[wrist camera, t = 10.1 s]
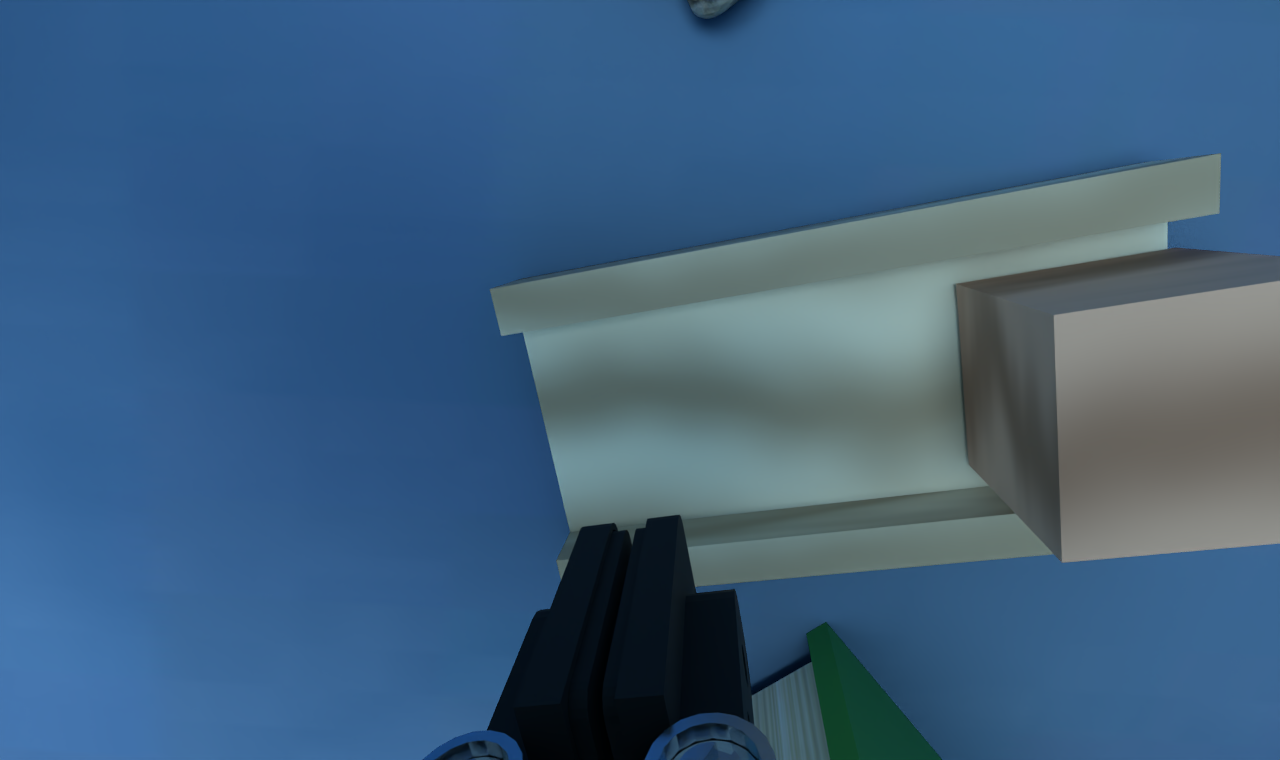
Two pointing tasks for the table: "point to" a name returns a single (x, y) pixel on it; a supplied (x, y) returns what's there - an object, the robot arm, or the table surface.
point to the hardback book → (835, 711)
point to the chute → (811, 375)
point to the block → (1129, 400)
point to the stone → (710, 7)
